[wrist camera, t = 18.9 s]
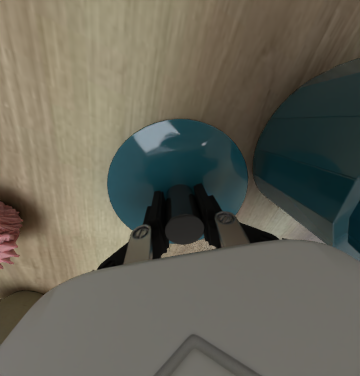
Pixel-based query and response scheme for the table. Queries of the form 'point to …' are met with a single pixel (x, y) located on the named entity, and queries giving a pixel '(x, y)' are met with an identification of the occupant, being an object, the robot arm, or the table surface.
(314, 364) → the robot arm
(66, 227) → the table surface
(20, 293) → the bowl
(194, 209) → the pot lid
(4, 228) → the flower
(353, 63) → the pot
